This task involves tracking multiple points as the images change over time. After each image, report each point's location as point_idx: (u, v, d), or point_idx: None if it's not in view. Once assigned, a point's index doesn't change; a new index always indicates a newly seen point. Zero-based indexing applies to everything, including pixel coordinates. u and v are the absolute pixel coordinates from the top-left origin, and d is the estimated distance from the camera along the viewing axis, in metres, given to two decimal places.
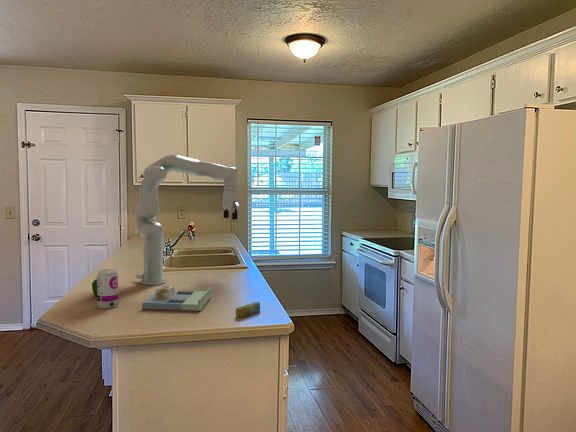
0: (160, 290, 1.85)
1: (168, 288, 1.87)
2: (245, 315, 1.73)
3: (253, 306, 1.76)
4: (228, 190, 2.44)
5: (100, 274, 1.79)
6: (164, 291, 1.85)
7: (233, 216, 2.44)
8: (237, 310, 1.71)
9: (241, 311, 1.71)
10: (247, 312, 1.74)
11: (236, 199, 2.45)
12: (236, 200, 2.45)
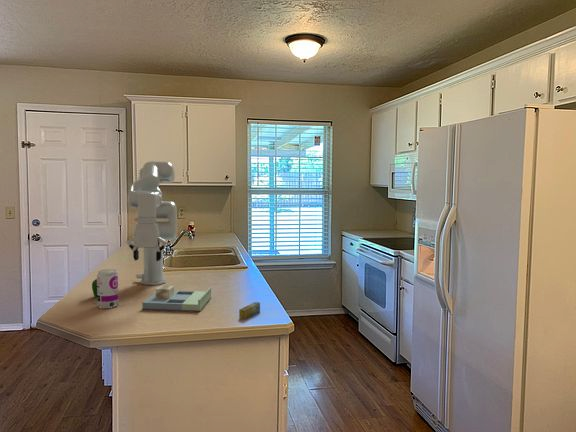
0: (160, 290, 1.85)
1: (168, 288, 1.87)
2: (248, 316, 1.72)
3: (254, 306, 1.76)
4: (150, 223, 1.84)
5: (100, 274, 1.79)
6: (164, 291, 1.85)
7: (158, 256, 1.87)
8: (241, 311, 1.70)
9: (245, 312, 1.70)
10: (250, 313, 1.73)
11: (159, 234, 1.88)
12: (159, 235, 1.88)
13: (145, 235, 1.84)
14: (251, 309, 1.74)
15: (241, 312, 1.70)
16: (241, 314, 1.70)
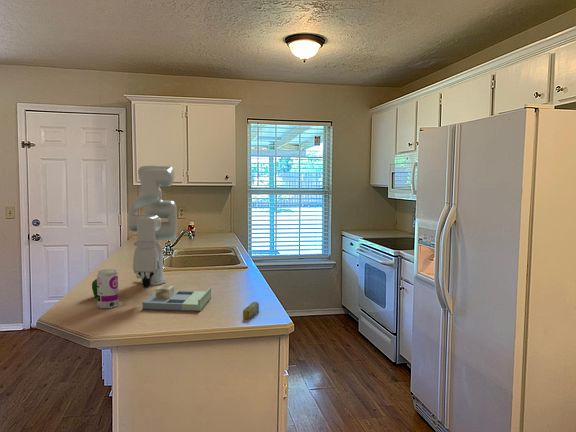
0: (160, 290, 1.85)
1: (168, 288, 1.87)
2: (251, 316, 1.72)
3: (255, 306, 1.77)
4: (149, 248, 1.84)
5: (100, 274, 1.79)
6: (164, 291, 1.85)
7: (147, 283, 1.87)
8: (245, 312, 1.69)
9: (249, 312, 1.70)
10: (252, 313, 1.73)
11: (158, 258, 1.88)
12: (158, 259, 1.88)
13: (144, 259, 1.84)
14: (253, 309, 1.74)
15: (245, 313, 1.69)
16: (245, 315, 1.70)
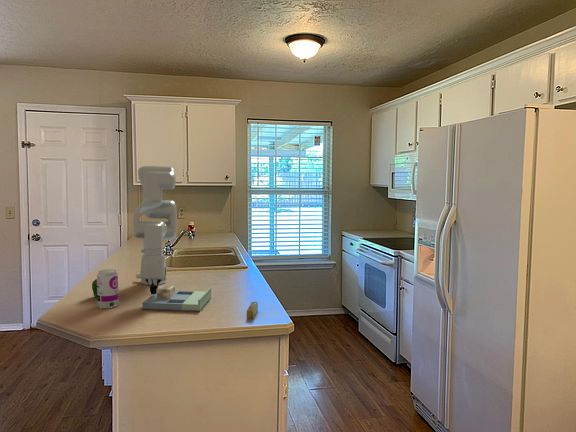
0: (161, 290, 1.85)
1: (169, 288, 1.87)
2: (254, 316, 1.72)
3: (256, 306, 1.77)
4: (157, 255, 1.84)
5: (100, 274, 1.79)
6: (165, 291, 1.85)
7: (154, 290, 1.88)
8: (249, 312, 1.69)
9: (253, 312, 1.70)
10: (255, 313, 1.74)
11: (165, 265, 1.88)
12: (165, 266, 1.89)
13: (152, 267, 1.85)
14: (255, 309, 1.74)
15: (249, 313, 1.69)
16: (249, 315, 1.69)
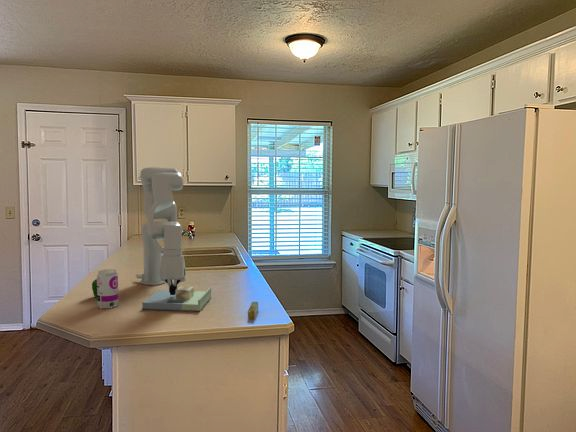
0: (180, 291, 1.85)
1: (188, 289, 1.86)
2: (255, 316, 1.72)
3: (256, 306, 1.77)
4: (176, 255, 1.84)
5: (100, 274, 1.79)
6: (184, 292, 1.84)
7: (174, 290, 1.87)
8: (250, 312, 1.69)
9: (254, 312, 1.70)
10: (256, 313, 1.74)
11: (184, 265, 1.88)
12: None
13: (171, 267, 1.84)
14: (256, 309, 1.74)
15: (250, 313, 1.69)
16: (250, 315, 1.69)
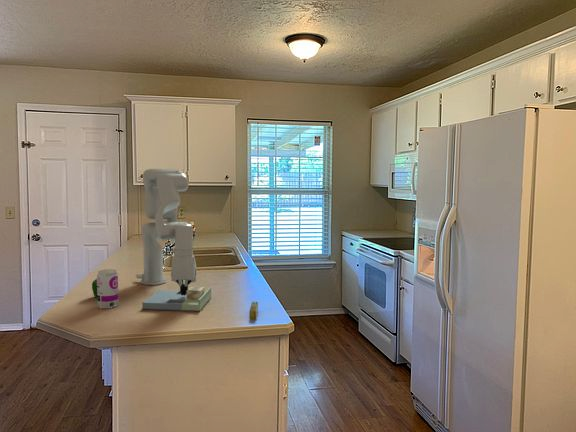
0: (191, 291, 1.84)
1: (199, 289, 1.85)
2: (256, 316, 1.72)
3: (257, 306, 1.77)
4: (187, 256, 1.84)
5: (100, 274, 1.79)
6: (195, 292, 1.84)
7: (185, 291, 1.87)
8: (252, 312, 1.69)
9: (256, 312, 1.70)
10: None
11: (195, 265, 1.88)
12: None
13: (182, 267, 1.84)
14: None
15: (252, 313, 1.69)
16: (252, 315, 1.69)
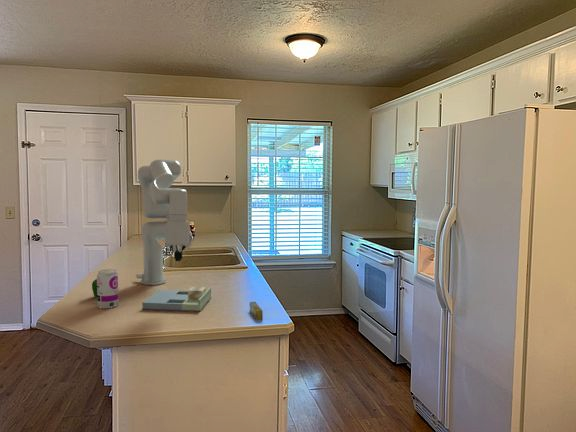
0: (193, 291, 1.84)
1: (200, 289, 1.85)
2: None
3: (257, 305, 1.77)
4: (182, 221, 1.83)
5: (100, 274, 1.79)
6: (197, 292, 1.84)
7: (179, 256, 1.86)
8: (259, 312, 1.70)
9: None
10: None
11: None
12: (190, 233, 1.87)
13: (177, 233, 1.83)
14: None
15: (259, 313, 1.70)
16: (259, 315, 1.70)
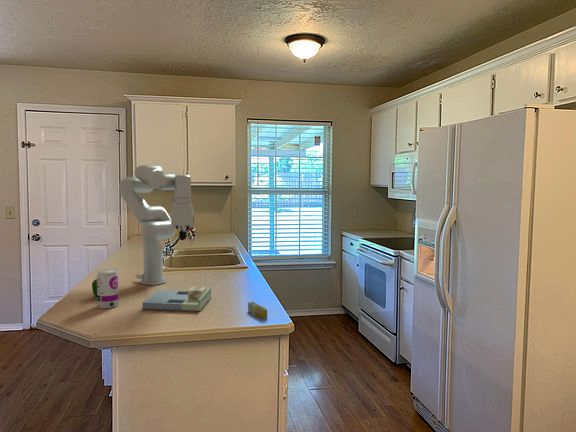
0: (193, 291, 1.84)
1: (200, 289, 1.85)
2: None
3: None
4: (186, 203, 2.02)
5: (100, 274, 1.79)
6: (197, 292, 1.84)
7: (183, 236, 2.05)
8: (264, 311, 1.71)
9: None
10: None
11: (193, 213, 2.06)
12: (193, 214, 2.06)
13: (181, 214, 2.03)
14: None
15: (264, 312, 1.71)
16: (264, 314, 1.71)
